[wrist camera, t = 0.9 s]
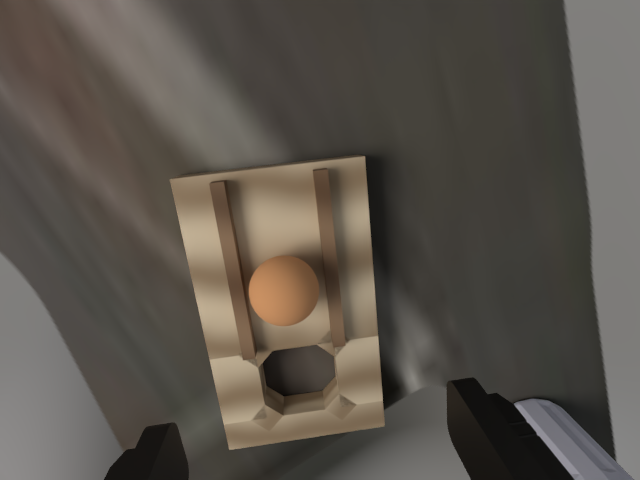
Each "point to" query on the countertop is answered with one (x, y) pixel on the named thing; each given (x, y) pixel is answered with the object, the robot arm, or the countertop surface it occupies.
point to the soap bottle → (570, 442)
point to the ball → (283, 290)
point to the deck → (325, 320)
